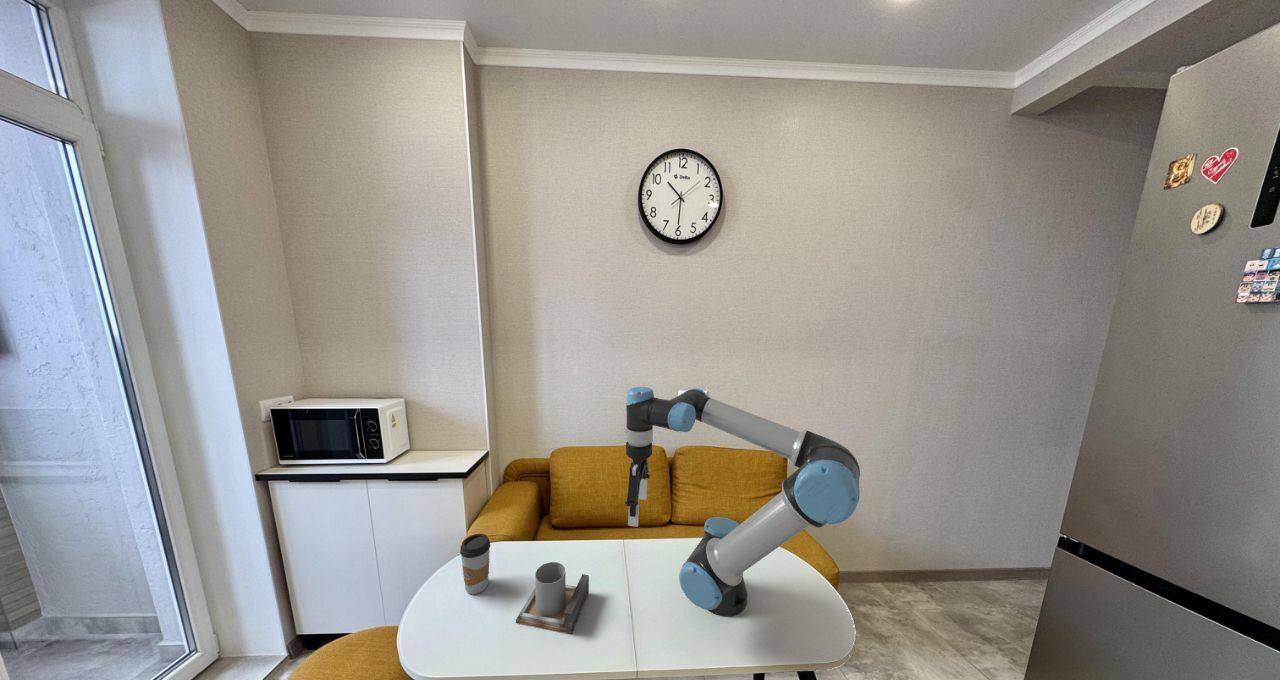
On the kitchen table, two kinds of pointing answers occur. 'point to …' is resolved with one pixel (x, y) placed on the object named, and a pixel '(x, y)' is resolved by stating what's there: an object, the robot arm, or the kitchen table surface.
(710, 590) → the robot arm
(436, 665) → the kitchen table surface
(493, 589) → the kitchen table surface
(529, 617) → the brown flat tray-like piece
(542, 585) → the cup
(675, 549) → the kitchen table surface
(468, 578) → the coffee cup
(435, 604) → the kitchen table surface
